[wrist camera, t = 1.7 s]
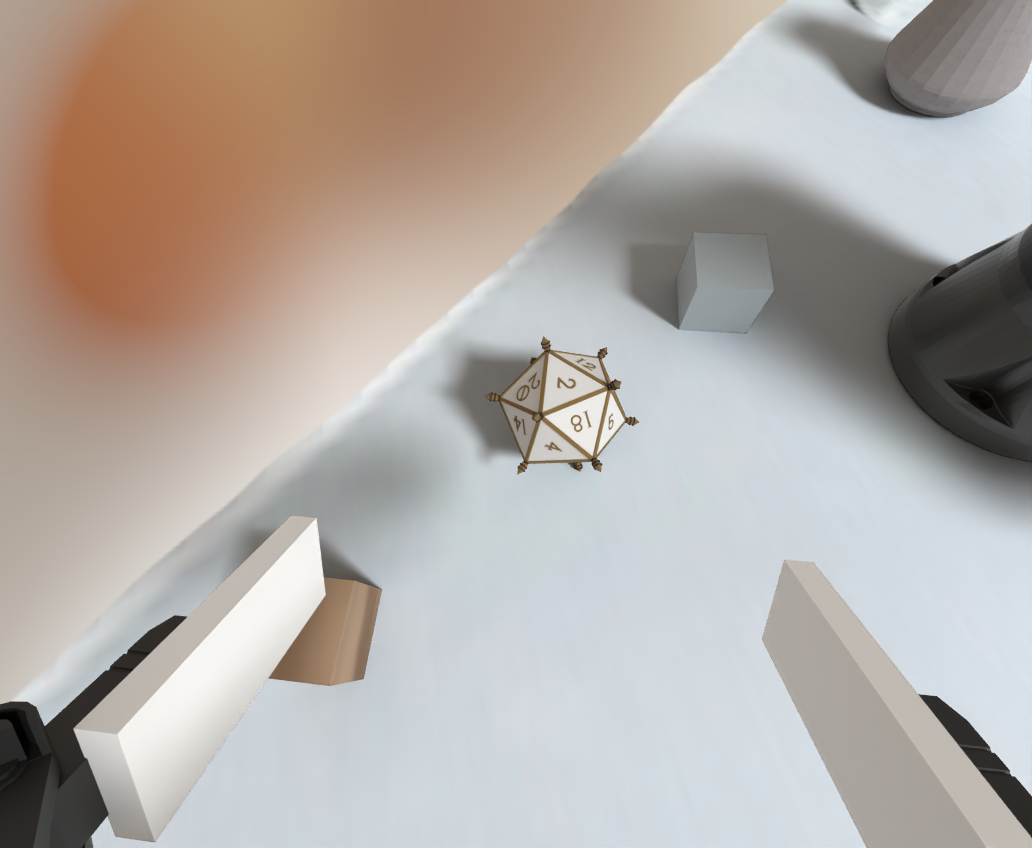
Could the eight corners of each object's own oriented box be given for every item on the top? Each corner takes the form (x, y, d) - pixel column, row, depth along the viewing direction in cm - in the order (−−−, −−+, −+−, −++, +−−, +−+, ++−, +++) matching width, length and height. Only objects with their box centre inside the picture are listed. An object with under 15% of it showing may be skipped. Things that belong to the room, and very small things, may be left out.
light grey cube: (739, 282, 39) (765, 234, 34) (745, 333, 37) (774, 290, 32) (676, 279, 39) (693, 232, 35) (678, 330, 37) (697, 286, 33)
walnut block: (382, 589, 30) (353, 580, 26) (363, 678, 28) (329, 685, 24) (306, 581, 31) (265, 571, 26) (283, 669, 29) (234, 674, 24)
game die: (553, 477, 36) (496, 515, 27) (511, 374, 37) (440, 379, 28) (667, 434, 33) (644, 463, 24) (618, 321, 33) (576, 306, 24)
